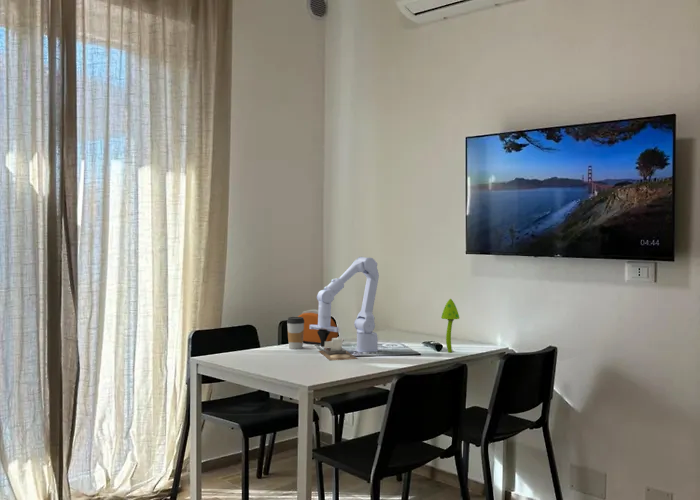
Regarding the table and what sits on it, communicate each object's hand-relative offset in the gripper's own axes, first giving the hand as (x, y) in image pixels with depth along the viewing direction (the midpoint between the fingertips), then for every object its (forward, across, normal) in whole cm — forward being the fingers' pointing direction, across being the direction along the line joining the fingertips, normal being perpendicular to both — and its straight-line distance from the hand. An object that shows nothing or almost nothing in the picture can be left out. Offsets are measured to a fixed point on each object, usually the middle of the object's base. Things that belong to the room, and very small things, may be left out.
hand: (323, 346), depth 316 cm
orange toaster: (+4, -22, +26) cm, 34 cm away
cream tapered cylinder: (+3, +3, +4) cm, 6 cm away
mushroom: (+2, +47, +37) cm, 59 cm away
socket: (+3, +3, +5) cm, 7 cm away
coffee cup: (+4, -20, +7) cm, 21 cm away
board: (+4, +7, +2) cm, 8 cm away
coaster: (+3, +10, -2) cm, 11 cm away
